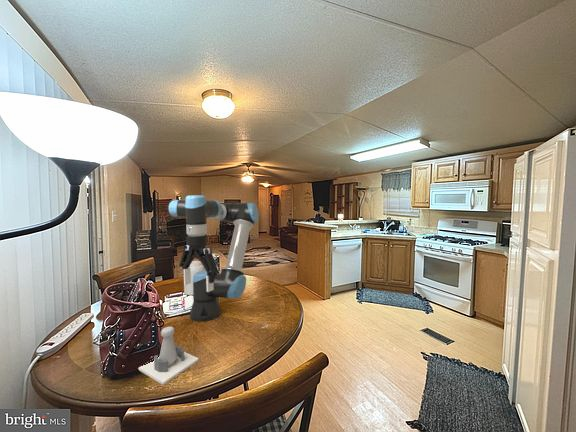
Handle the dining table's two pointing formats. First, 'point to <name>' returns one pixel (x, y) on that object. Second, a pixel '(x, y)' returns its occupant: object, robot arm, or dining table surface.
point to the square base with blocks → (163, 372)
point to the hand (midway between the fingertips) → (198, 287)
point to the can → (194, 268)
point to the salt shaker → (168, 346)
